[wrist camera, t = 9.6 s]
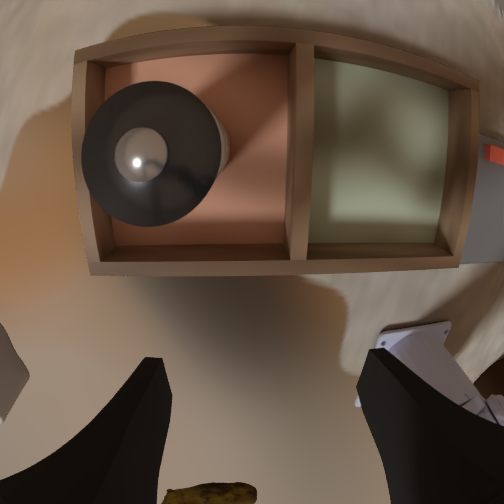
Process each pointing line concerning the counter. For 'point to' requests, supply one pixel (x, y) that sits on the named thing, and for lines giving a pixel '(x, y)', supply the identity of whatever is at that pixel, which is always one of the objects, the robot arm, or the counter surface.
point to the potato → (213, 494)
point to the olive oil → (491, 381)
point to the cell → (153, 153)
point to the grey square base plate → (487, 206)
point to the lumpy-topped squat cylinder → (10, 374)
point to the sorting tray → (295, 154)
